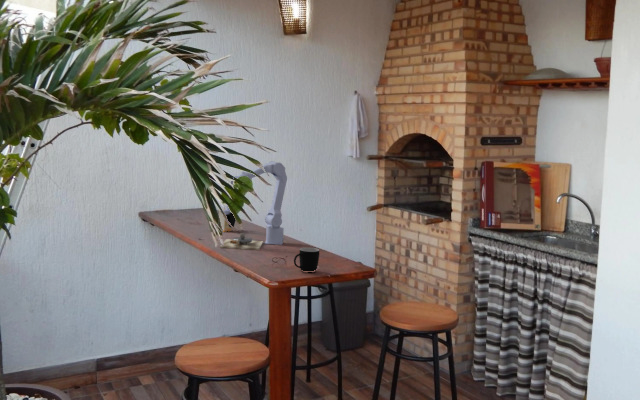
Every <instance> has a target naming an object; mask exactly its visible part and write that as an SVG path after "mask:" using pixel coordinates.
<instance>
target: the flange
mask: <svg viewBox="0 0 640 400" xmlns="http://www.w3.org/2000/svg"><path fill="white" fill-rule="evenodd" d="M232 239H233V240H232V241H230V243H232V244H236V240H239V243H249V242H252V241H253V238H251V237H247V236H245V239H241V238H240V236H237V237H236V236H235V237H233V238H232Z"/></svg>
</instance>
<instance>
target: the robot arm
mask: <svg viewBox="0 0 640 400" xmlns="http://www.w3.org/2000/svg"><path fill="white" fill-rule="evenodd" d="M262 165H263V167H264V169H265V171H266V172H264V171H263V170H262V169H261V168H259V167H257V168H255V169H253V170H252V171H253V172H255V173H256V174H258V176H260V175H263V174H265V173H269V174H271V175H272V176H273V177H274V179H276V181H275V186H274V191H273V196H272V202H271V206H270V208H269V210H268V211H267V214H266V216H265V217H264V220H265V224H266V232H265V233H266V234H265V241H264V242H263V244H264V245H280V246H282V245H283V243H284V240H285V239H284V227H281V225H282V223H283V219H282V215H283V214H282V211H281V209H282V204H283V200H284V195H285V190H286V185H287V181H288V175H287V173H286V167H285V165H283V163H281V162H277V161H275V160H274V161H273V160H272V161H269V162H266V163H264V164H262ZM240 176H248V177H249V178H250V179H251V181H252V180H253V178H255V177H257V176H255V175H253V174H251V173H249V172H248V171H242V172H241V173H240V174H239V175H234V176H233V178H234V177H235V178H239V177H240ZM231 184H233V181H231ZM224 209H225V210H224V211H223V212H224V213H225V214H226V216H227V219H228V221H229V222H230V223H231V225H232V226H233V227H234V228H235V224H236V220H237V219H236V220H235V218H234V216H233V214H232V213H231V212H230V210H229V208H228V206H227V205H226V208H224ZM222 215H223V214H222ZM229 227H231V226H230V225H229Z"/></svg>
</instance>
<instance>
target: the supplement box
mask: <svg viewBox="0 0 640 400" xmlns="http://www.w3.org/2000/svg"><path fill="white" fill-rule="evenodd" d="M222 209H223V211H224V210H225V209H226V208H222ZM218 214H219V215H218V216H219V217H218V219H219V218H220V222H221V226H222V229H223V233H227V231H228V232H232V231H231V230H234V229H233V228H232V227H229V224H228V223H227V222H226V221H225V218H224V217H223V215H222V213H221V212H220V211H219V213H218ZM234 231H235V230H234Z"/></svg>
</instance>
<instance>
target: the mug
mask: <svg viewBox="0 0 640 400" xmlns="http://www.w3.org/2000/svg"><path fill="white" fill-rule="evenodd" d="M298 257H299V265H298V264H297V262H296V261H297V258H298ZM319 259H320V249H319V248H315V247H301V248H299V253H297V254H296V255H295V256H294V258H293V264H294V266H295V267H296V268H299V269H300V271H301V270H303V271H314V270H316V269H317V270H318V265H319ZM317 270H316V271H317Z"/></svg>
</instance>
